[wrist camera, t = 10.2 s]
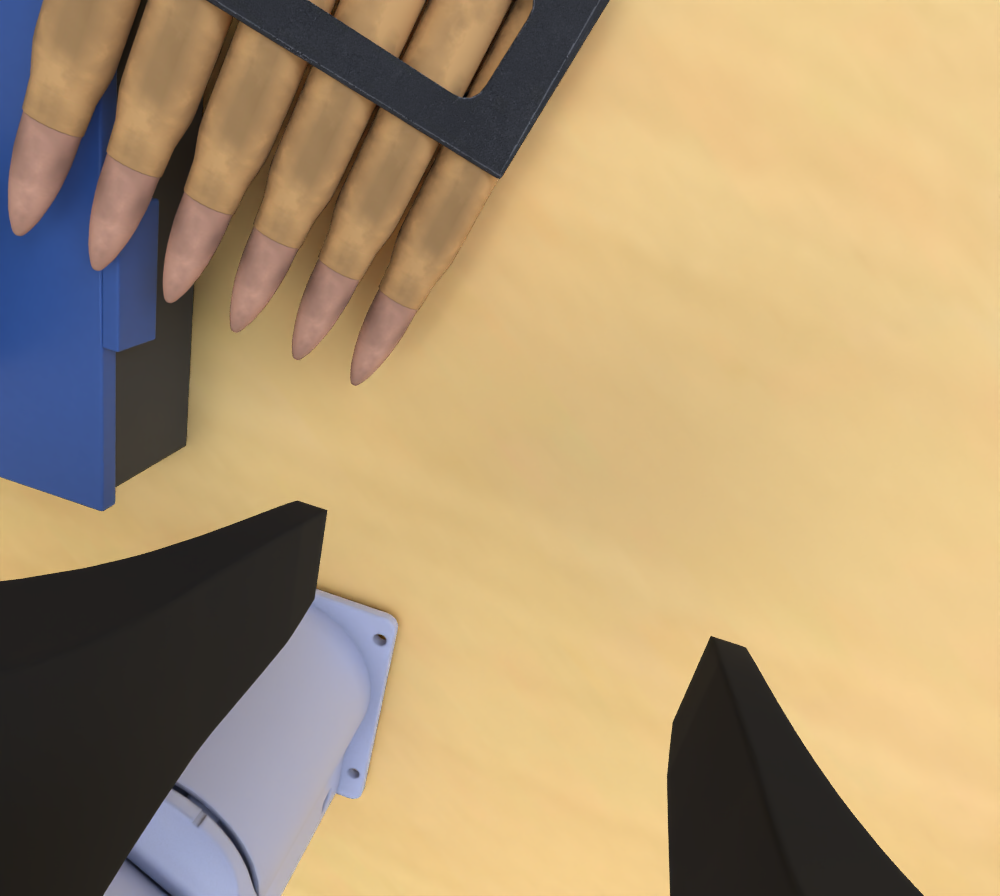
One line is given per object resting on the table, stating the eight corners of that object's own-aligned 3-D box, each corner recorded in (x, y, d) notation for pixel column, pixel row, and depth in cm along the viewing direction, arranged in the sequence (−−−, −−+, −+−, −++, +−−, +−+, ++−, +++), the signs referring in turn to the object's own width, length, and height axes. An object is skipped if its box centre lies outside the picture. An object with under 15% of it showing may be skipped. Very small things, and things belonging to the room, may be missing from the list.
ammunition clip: (622, -21, 17) (384, 411, 20) (597, -13, 18) (382, 385, 22) (136, -407, 12) (-46, 222, 16) (161, -354, 14) (-10, 208, 18)
